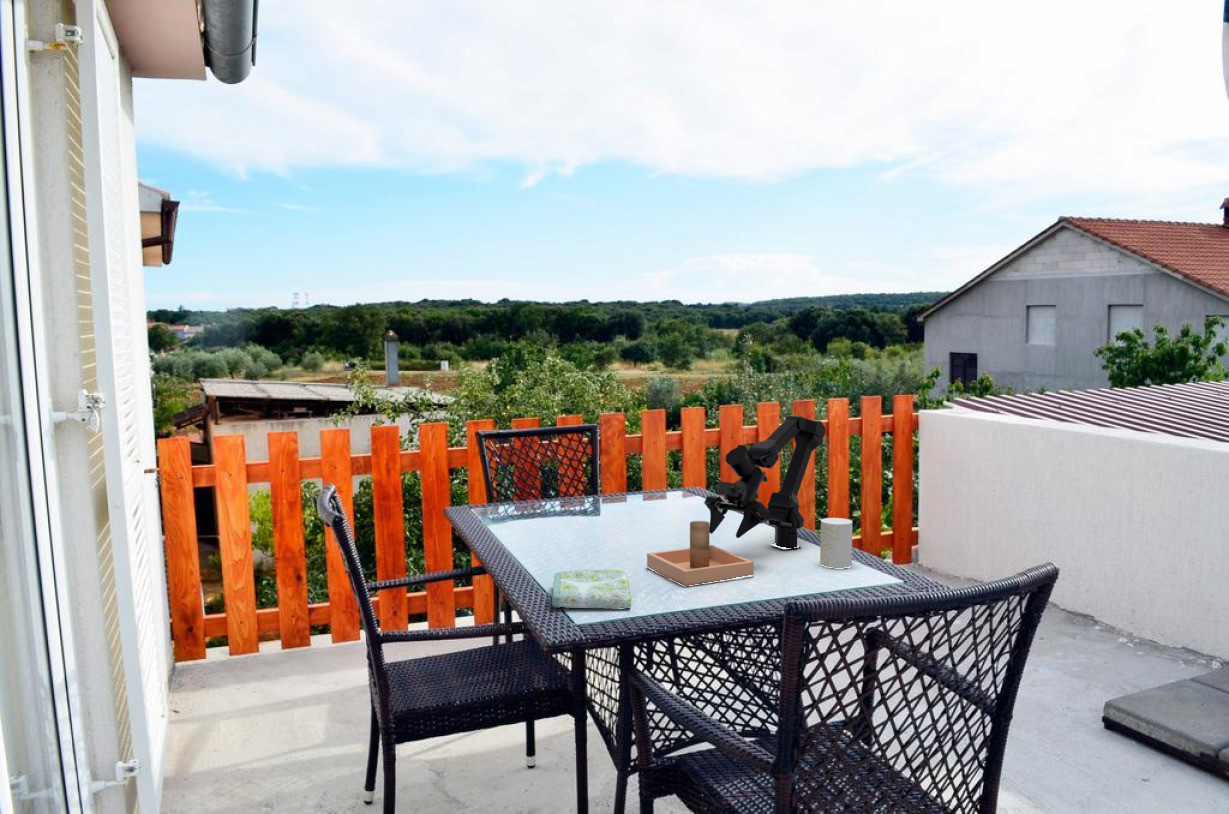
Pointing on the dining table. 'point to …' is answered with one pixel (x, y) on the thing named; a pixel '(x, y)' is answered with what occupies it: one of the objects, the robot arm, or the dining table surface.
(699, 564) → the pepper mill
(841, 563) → the light grey cylinder
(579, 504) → the dining table surface
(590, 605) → the towel
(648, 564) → the bin
